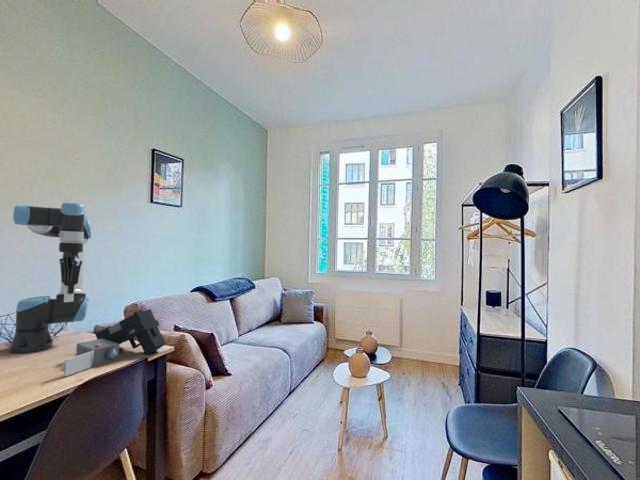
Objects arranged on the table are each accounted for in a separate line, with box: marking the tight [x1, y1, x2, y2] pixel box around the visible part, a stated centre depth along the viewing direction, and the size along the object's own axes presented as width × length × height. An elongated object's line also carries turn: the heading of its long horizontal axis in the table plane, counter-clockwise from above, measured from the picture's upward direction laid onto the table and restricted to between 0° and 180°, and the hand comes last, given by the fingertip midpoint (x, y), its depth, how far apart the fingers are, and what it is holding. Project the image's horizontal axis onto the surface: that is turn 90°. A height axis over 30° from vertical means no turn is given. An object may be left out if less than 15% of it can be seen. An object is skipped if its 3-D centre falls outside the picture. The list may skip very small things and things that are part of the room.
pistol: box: [94, 308, 167, 356], centre depth 154 cm, size 10×27×20 cm, turn 79°
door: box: [61, 350, 94, 377], centre depth 127 cm, size 11×2×6 cm, turn 164°
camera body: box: [75, 338, 120, 368], centre depth 139 cm, size 16×10×8 cm, turn 59°
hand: (68, 301), depth 131 cm, fingers closed
